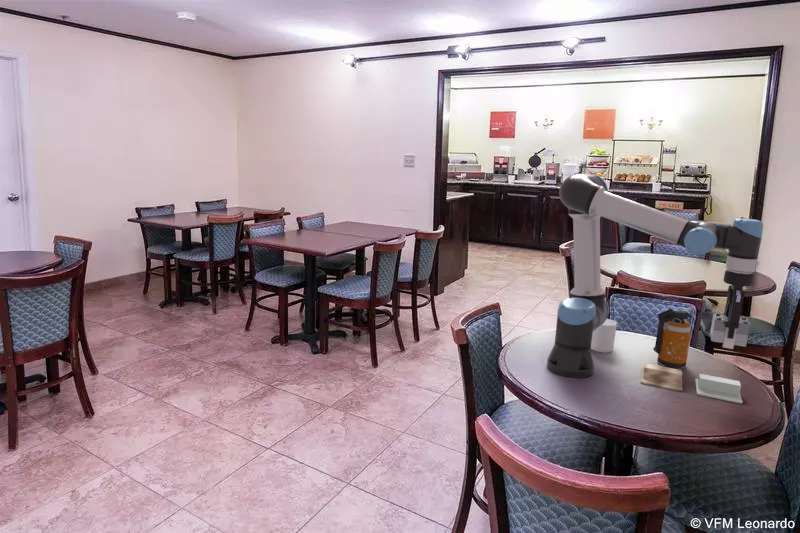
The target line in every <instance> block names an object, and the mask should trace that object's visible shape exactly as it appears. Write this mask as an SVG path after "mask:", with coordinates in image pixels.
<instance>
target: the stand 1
mask: <svg viewBox="0 0 800 533" xmlns="http://www.w3.org/2000/svg"><path fill="white" fill-rule="evenodd" d="M640 384H643V385H644V384H645V385H647V386H652V387H653V386H654V387H658V388H663V389H667V390H672V391H677V392H678V391H679V392H683V390H684V389H683V370H682V369H674V368H669V367H666V366H663V365H662V366H661V365H656V364H651V363H646V362H645V363H644V367H643V368H641V375H640Z"/></svg>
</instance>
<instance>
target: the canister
mask: <svg viewBox="0 0 800 533" xmlns="http://www.w3.org/2000/svg"><path fill="white" fill-rule="evenodd" d="M657 317H658V324H657V332H656V338H655V346H654V347H653V348H652V350H653V351H654V352H655V353H656V354H658V355H657V363H658V364H660V365H662V367H667V368H673V369H678V370H680V369H684V368H687V367H686V366H687V361H688V356H689V355H688V354H689V350H690V345H691V344H690V343H691V337H692V332H691V327H692V326H691V323H689V321H688V319H692V318H693V315H692V314H691V313H690V312H688V310H673V309H672V308H669V309H667V310H664V311H663V312H660V313H658V314H657ZM686 320H687V321H686Z"/></svg>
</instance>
